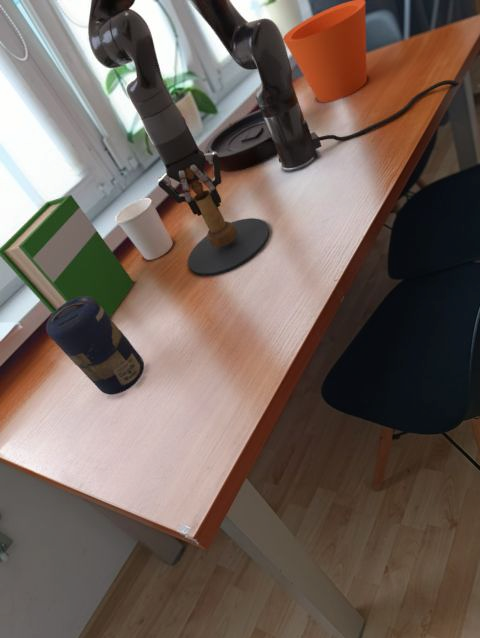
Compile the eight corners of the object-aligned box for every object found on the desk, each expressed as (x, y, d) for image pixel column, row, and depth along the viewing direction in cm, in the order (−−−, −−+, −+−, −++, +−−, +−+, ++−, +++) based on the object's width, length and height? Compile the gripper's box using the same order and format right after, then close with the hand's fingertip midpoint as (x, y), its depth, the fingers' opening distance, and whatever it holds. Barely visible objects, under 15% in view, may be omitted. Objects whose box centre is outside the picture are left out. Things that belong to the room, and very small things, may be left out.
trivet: (261, 210, 116) (260, 207, 116) (277, 249, 101) (276, 246, 100) (187, 245, 119) (186, 243, 118) (191, 288, 103) (190, 285, 103)
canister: (107, 369, 94) (46, 301, 83) (149, 352, 93) (93, 280, 81) (99, 405, 87) (31, 336, 76) (145, 387, 85) (83, 314, 74)
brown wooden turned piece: (234, 244, 105) (195, 168, 93) (208, 251, 107) (167, 178, 96) (240, 227, 109) (203, 152, 98) (215, 234, 112) (176, 162, 100)
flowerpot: (388, 83, 142) (372, 7, 130) (307, 117, 148) (284, 48, 136) (373, 62, 160) (357, -6, 148) (301, 94, 167) (281, 31, 154)
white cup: (181, 235, 124) (157, 194, 117) (166, 259, 118) (139, 217, 111) (152, 241, 129) (127, 202, 121) (135, 264, 123) (108, 224, 115)
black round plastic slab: (198, 182, 146) (288, 159, 131) (189, 164, 142) (280, 138, 127) (232, 136, 164) (314, 111, 149) (224, 119, 160) (308, 92, 146)
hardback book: (98, 335, 105) (21, 245, 90) (74, 337, 108) (-4, 251, 93) (134, 282, 116) (70, 194, 101) (111, 286, 119) (46, 202, 104)
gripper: (135, 155, 91) (180, 231, 102) (203, 121, 89) (241, 202, 100) (137, 143, 96) (179, 216, 107) (200, 111, 95) (237, 188, 106)
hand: (209, 209), depth 103 cm, fingers closed on brown wooden turned piece, 4 cm apart
